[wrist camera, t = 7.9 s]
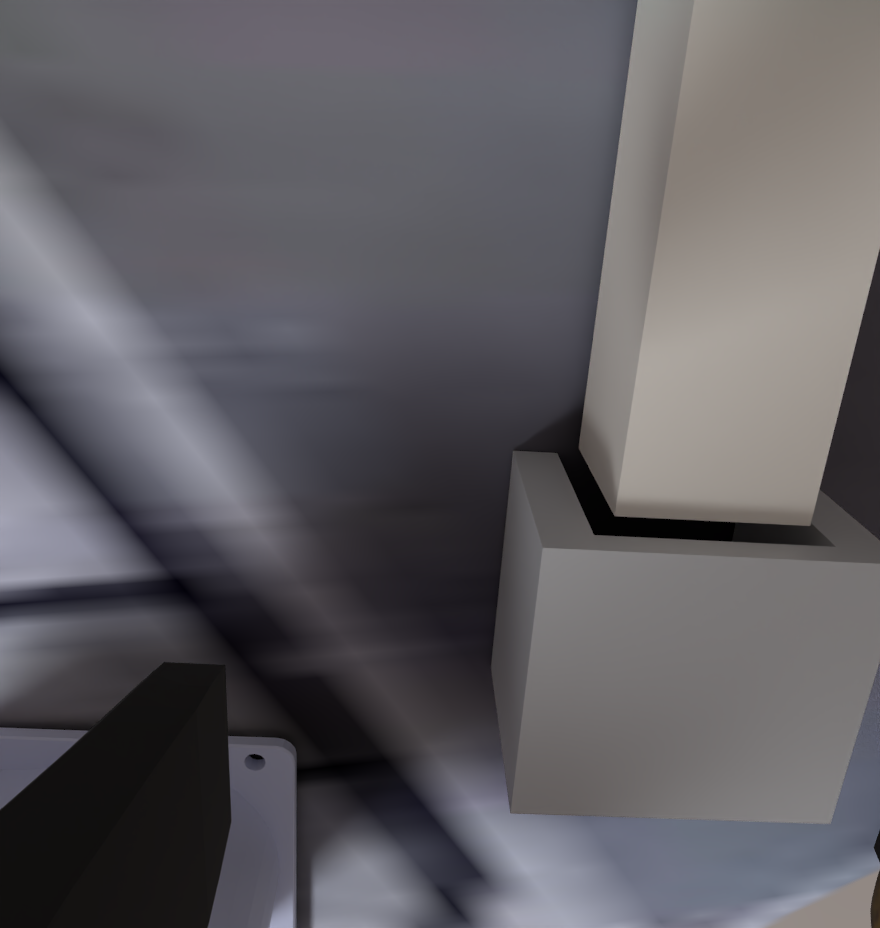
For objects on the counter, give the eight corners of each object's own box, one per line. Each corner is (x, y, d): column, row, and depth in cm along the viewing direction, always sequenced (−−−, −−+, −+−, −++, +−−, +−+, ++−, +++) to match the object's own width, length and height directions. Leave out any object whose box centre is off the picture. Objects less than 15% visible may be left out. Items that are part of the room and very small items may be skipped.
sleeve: (491, 667, 20) (510, 813, 16) (513, 450, 18) (542, 547, 14) (741, 678, 21) (830, 824, 16) (791, 465, 19) (908, 565, 14)
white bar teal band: (542, 445, 18) (579, 536, 14) (620, -225, 14) (707, -391, 9) (773, 458, 18) (878, 550, 14) (921, -198, 14) (1137, -348, 10)
